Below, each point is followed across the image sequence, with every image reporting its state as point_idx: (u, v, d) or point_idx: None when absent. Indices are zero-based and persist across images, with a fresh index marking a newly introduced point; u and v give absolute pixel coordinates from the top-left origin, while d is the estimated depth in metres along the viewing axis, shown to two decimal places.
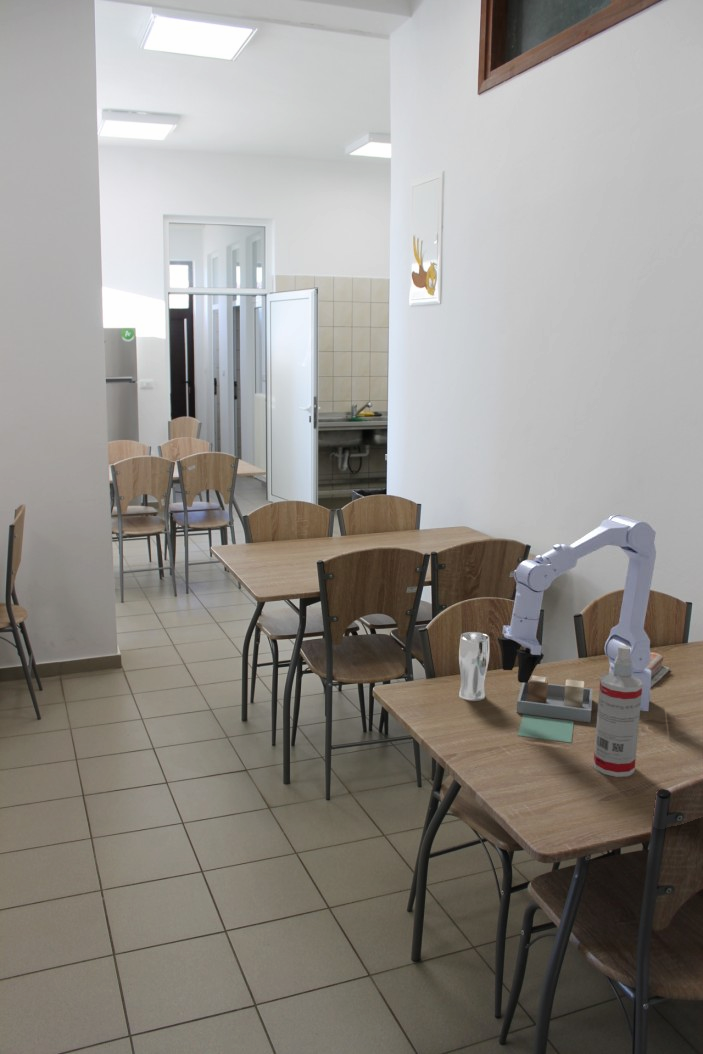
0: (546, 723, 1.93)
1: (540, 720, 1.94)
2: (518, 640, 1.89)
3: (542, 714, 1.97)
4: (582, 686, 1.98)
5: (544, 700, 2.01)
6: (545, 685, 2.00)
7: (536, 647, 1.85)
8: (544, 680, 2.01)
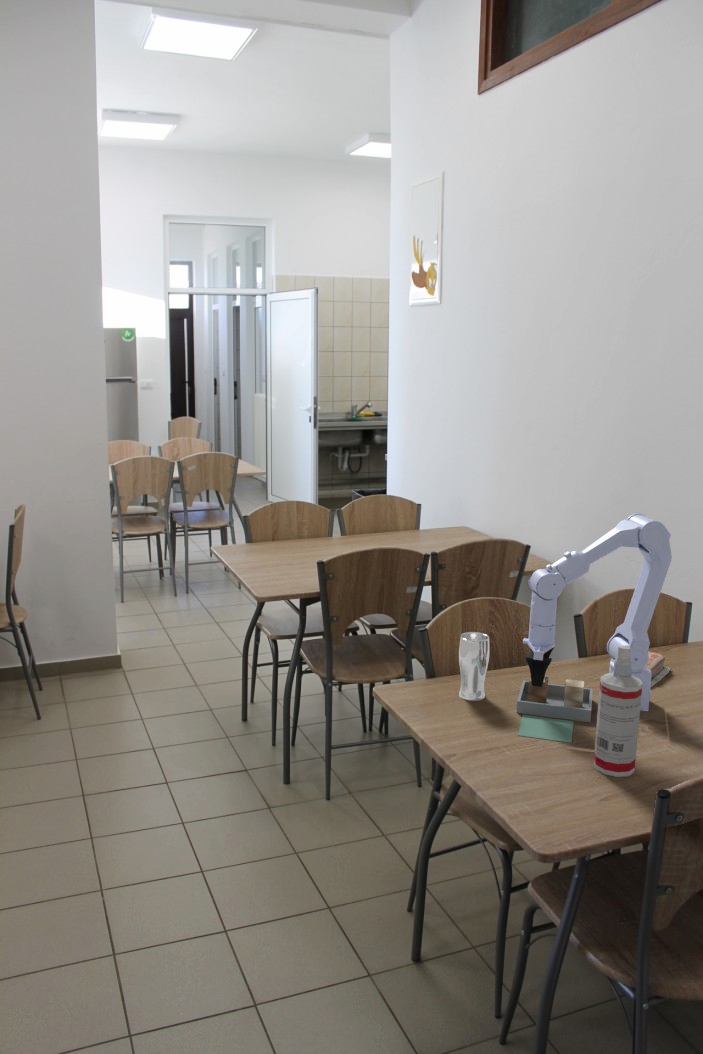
0: (546, 723, 1.93)
1: (540, 720, 1.94)
2: (529, 645, 1.98)
3: (542, 714, 1.97)
4: (582, 686, 1.98)
5: (544, 700, 2.01)
6: (545, 685, 2.00)
7: (537, 652, 1.94)
8: (544, 680, 2.01)
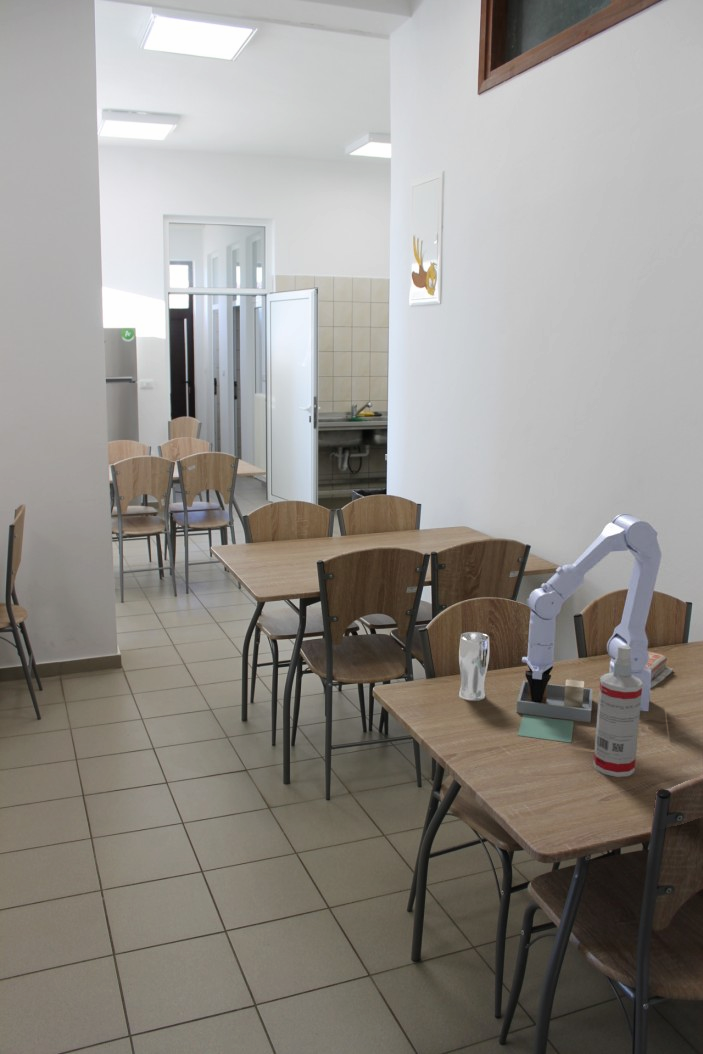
0: (546, 723, 1.93)
1: (540, 720, 1.94)
2: (528, 664, 1.99)
3: (542, 714, 1.97)
4: (582, 686, 1.98)
5: (544, 700, 2.01)
6: None
7: (535, 672, 1.95)
8: None
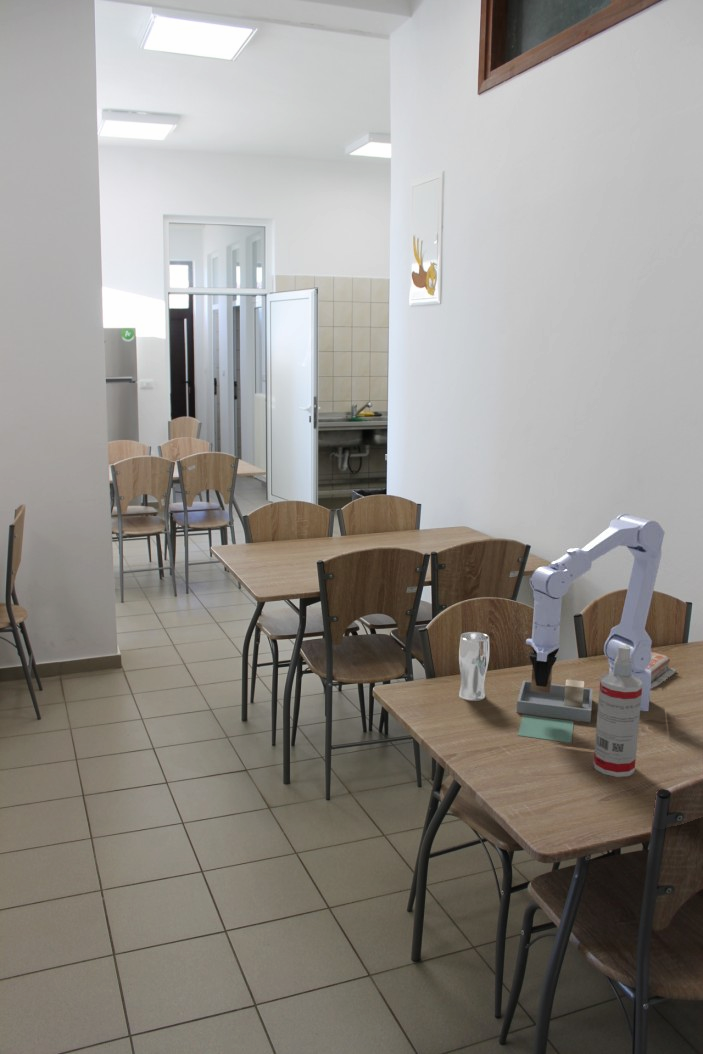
0: (546, 723, 1.93)
1: (540, 720, 1.94)
2: (533, 646, 1.90)
3: (542, 714, 1.97)
4: (582, 686, 1.98)
5: (548, 684, 1.91)
6: None
7: (540, 653, 1.85)
8: None
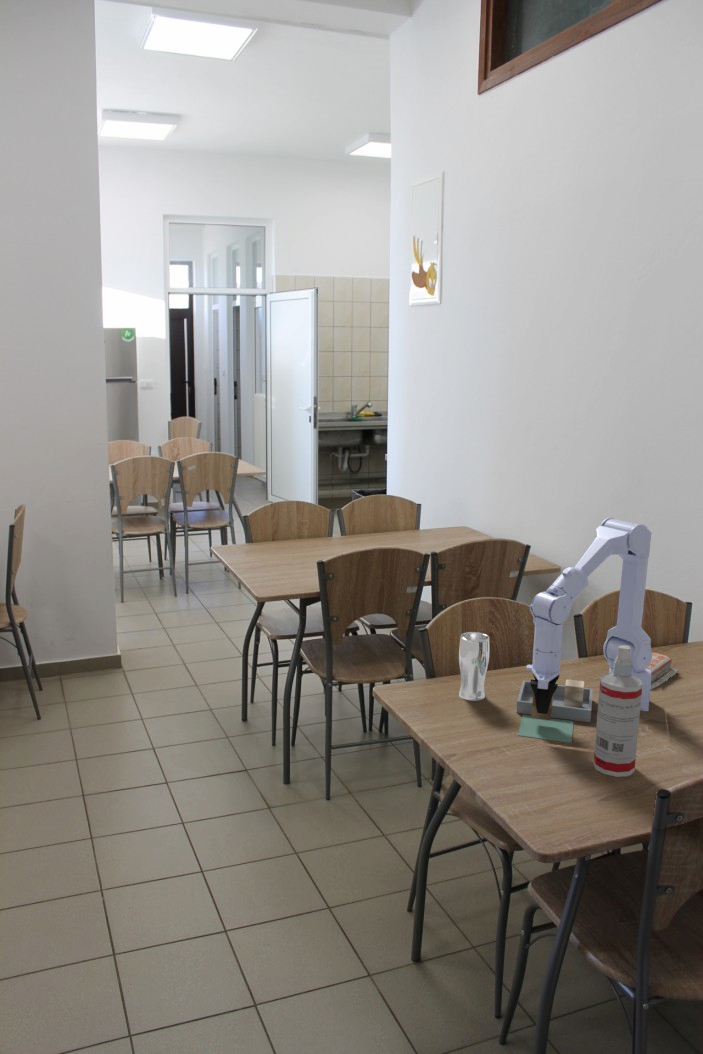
0: (546, 723, 1.93)
1: (540, 720, 1.94)
2: (533, 672, 1.87)
3: None
4: (582, 686, 1.98)
5: (549, 711, 1.88)
6: None
7: (541, 681, 1.82)
8: None
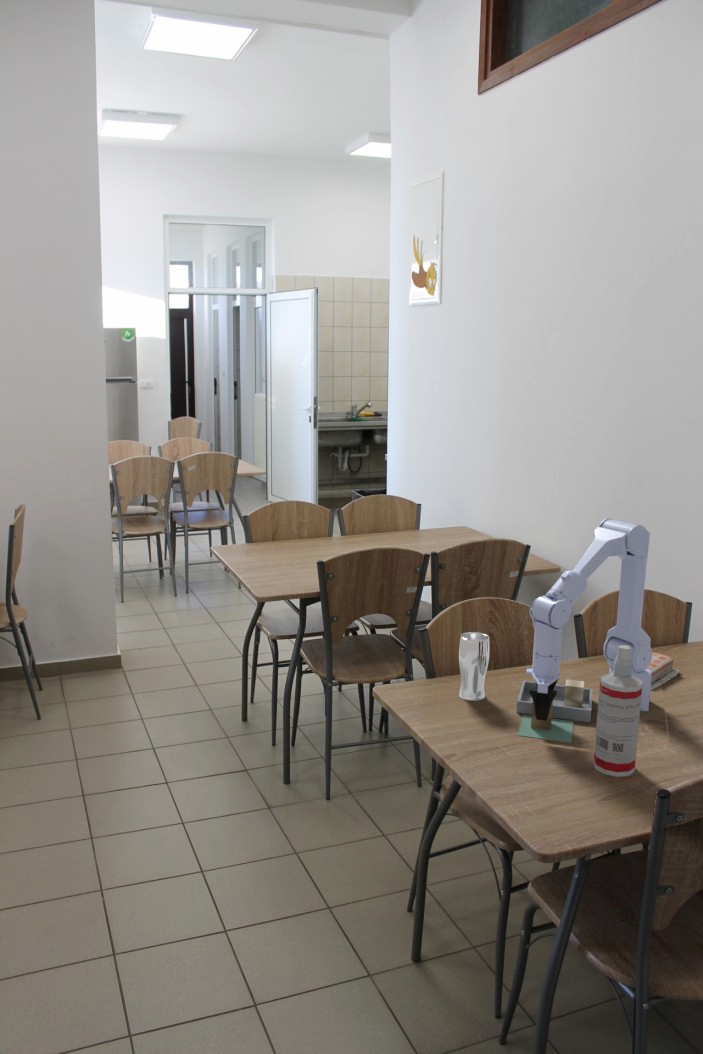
0: None
1: None
2: (533, 676, 1.87)
3: None
4: (582, 686, 1.98)
5: (548, 722, 1.89)
6: (550, 706, 1.88)
7: (541, 685, 1.82)
8: None
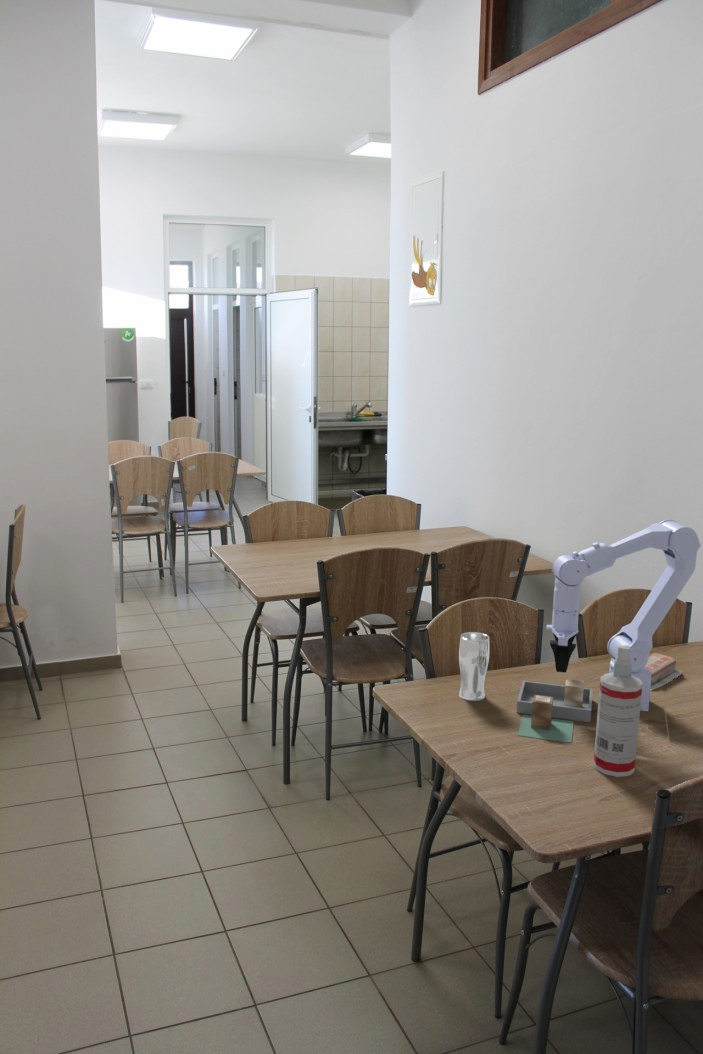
0: None
1: None
2: (553, 631, 1.99)
3: None
4: (582, 686, 1.98)
5: (548, 722, 1.89)
6: (550, 706, 1.88)
7: (561, 638, 1.94)
8: (549, 700, 1.89)
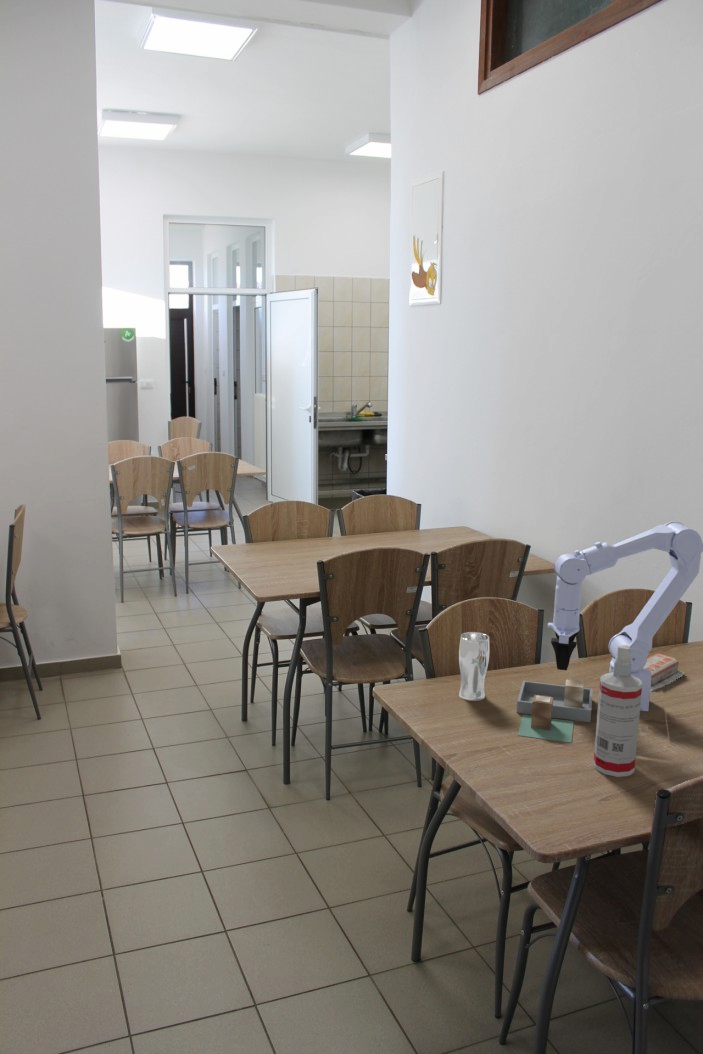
0: None
1: None
2: (554, 629, 2.00)
3: None
4: (582, 686, 1.98)
5: (548, 722, 1.89)
6: (550, 706, 1.88)
7: (562, 636, 1.95)
8: (549, 700, 1.89)
